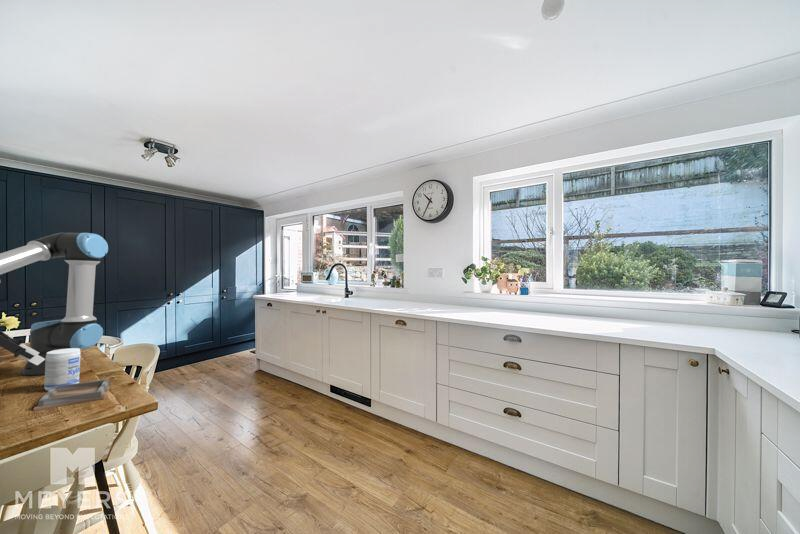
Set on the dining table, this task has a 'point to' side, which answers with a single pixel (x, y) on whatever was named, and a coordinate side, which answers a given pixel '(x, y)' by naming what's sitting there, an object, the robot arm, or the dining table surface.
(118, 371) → the dining table surface
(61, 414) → the dining table surface
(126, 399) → the dining table surface
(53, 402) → the dock
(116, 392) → the dining table surface
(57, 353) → the supplement tub
